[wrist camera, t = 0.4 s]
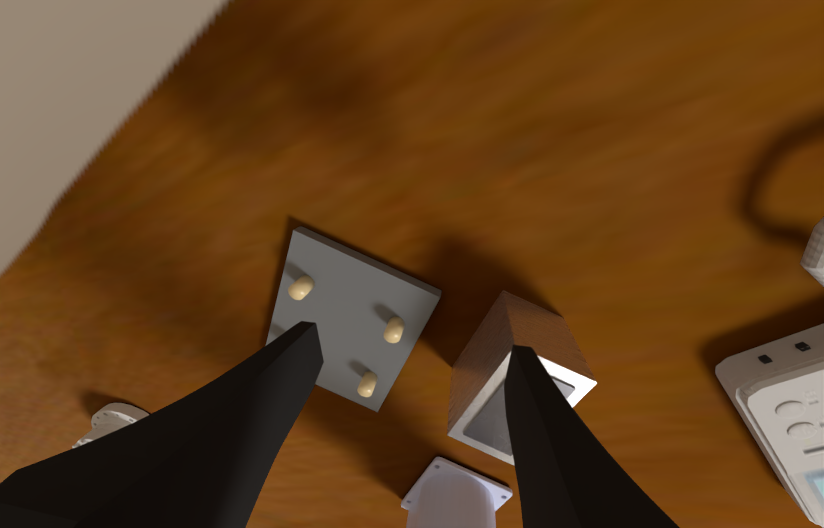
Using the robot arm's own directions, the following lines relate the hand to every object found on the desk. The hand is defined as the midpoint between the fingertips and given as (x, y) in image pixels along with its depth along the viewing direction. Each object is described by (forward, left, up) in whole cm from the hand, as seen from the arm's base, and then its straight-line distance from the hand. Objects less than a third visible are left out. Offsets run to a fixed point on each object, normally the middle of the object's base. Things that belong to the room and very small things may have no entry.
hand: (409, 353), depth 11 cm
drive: (-4, -7, -10) cm, 13 cm away
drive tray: (-9, +4, -10) cm, 14 cm away
